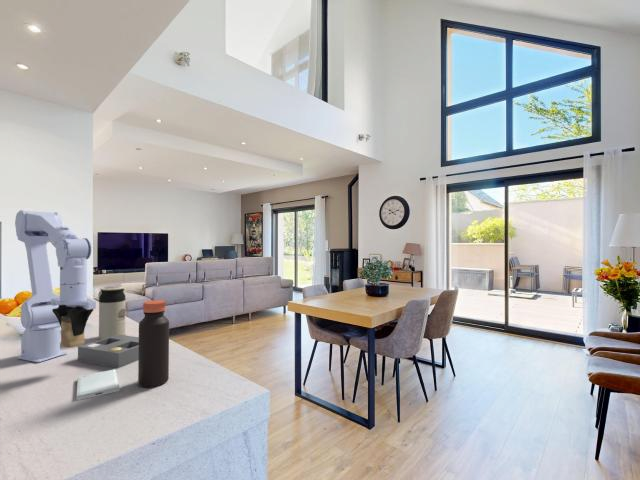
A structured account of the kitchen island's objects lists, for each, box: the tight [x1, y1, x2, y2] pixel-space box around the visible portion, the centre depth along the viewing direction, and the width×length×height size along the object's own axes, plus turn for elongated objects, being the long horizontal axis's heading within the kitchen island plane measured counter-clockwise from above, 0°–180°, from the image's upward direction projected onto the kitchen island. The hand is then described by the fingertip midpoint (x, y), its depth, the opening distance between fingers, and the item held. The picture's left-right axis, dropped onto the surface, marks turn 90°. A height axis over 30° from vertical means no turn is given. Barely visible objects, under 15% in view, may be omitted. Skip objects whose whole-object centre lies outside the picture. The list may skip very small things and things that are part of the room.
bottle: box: [137, 299, 170, 389], centre depth 81 cm, size 7×7×20 cm
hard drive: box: [76, 369, 121, 401], centre depth 79 cm, size 2×8×12 cm
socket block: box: [77, 334, 139, 369], centre depth 98 cm, size 16×13×4 cm
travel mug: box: [98, 285, 126, 340], centre depth 117 cm, size 8×8×18 cm
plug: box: [60, 315, 85, 349], centre depth 87 cm, size 4×4×8 cm
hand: (72, 334), depth 87 cm, fingers closed on plug, 4 cm apart
